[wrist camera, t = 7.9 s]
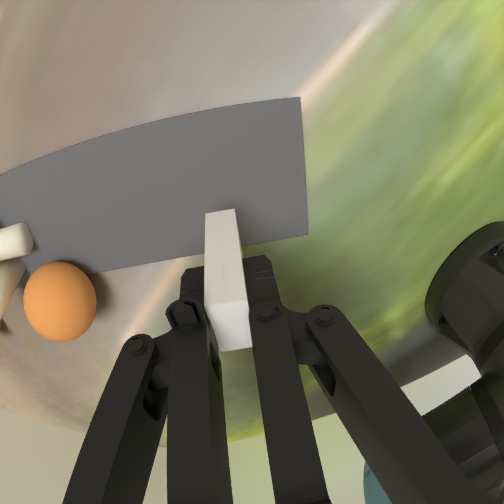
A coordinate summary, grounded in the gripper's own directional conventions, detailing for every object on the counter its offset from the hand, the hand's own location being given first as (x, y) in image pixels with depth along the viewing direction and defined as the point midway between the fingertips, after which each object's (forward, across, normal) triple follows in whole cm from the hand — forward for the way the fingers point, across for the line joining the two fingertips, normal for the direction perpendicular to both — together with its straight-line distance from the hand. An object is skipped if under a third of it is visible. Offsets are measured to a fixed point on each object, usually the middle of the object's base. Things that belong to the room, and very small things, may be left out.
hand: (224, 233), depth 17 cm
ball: (+2, +14, +4) cm, 14 cm away
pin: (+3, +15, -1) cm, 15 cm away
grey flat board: (+5, +8, -1) cm, 9 cm away
